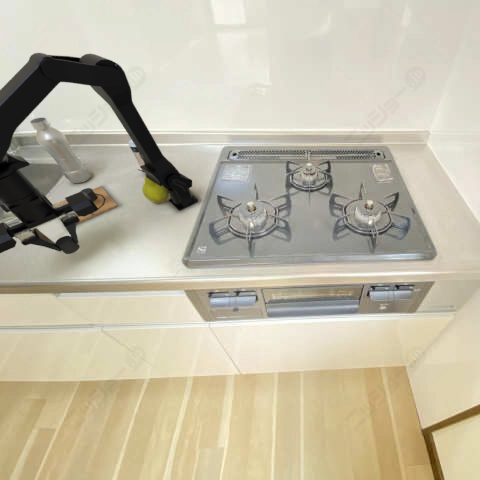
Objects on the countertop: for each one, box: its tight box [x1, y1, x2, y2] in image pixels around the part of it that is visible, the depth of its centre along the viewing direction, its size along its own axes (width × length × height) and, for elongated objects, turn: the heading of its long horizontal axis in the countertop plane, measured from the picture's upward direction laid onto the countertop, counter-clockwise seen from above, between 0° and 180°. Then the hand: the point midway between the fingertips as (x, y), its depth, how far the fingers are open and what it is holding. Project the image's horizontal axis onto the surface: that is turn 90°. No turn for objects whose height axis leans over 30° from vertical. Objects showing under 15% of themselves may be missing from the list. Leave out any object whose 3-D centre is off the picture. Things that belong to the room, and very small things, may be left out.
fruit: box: [137, 168, 170, 204], centre depth 82 cm, size 7×7×12 cm
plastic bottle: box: [29, 117, 92, 184], centre depth 85 cm, size 6×7×20 cm
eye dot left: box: [54, 235, 81, 255], centre depth 65 cm, size 3×3×3 cm
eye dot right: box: [79, 187, 98, 201], centre depth 84 cm, size 3×3×3 cm
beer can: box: [128, 138, 146, 176], centre depth 92 cm, size 5×5×12 cm
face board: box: [53, 185, 118, 226], centre depth 83 cm, size 13×13×1 cm
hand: (69, 246), depth 65 cm, fingers closed on eye dot left, 3 cm apart
